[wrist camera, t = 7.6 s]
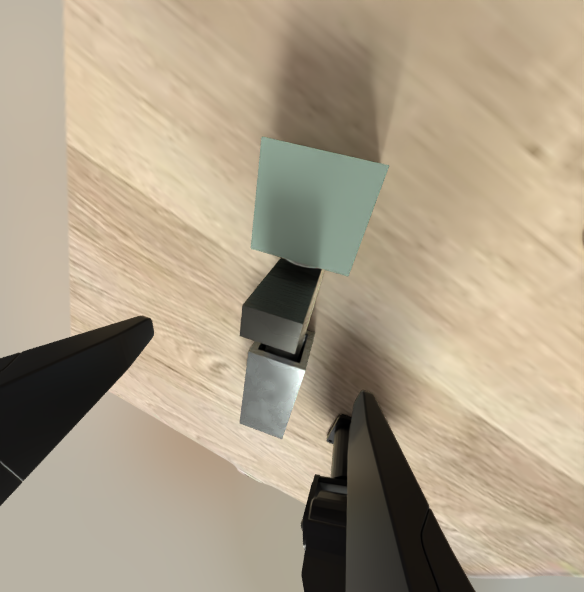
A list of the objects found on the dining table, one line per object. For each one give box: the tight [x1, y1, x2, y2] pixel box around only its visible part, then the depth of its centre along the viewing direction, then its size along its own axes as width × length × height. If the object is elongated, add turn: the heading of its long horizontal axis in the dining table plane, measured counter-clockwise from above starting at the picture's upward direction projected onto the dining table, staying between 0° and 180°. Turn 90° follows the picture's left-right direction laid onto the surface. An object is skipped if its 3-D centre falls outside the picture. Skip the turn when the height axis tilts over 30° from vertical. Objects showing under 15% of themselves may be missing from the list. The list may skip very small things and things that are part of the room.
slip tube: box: [240, 258, 325, 362], centre depth 17 cm, size 18×3×9 cm, turn 169°
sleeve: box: [240, 330, 315, 439], centre depth 25 cm, size 12×5×5 cm, turn 169°
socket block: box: [251, 137, 389, 276], centre depth 15 cm, size 6×6×6 cm
